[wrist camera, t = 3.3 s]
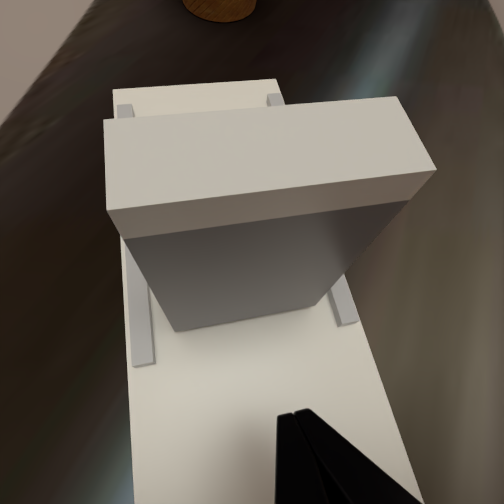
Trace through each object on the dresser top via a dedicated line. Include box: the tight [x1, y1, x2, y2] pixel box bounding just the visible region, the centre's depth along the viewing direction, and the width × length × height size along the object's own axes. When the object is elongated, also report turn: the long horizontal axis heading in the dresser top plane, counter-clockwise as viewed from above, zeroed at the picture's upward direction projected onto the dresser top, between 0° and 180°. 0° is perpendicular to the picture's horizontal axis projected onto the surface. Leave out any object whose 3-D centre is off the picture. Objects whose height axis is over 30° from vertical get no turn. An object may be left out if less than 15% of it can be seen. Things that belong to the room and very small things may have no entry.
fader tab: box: [104, 96, 437, 332], centre depth 10 cm, size 2×6×9 cm, turn 102°
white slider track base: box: [113, 79, 424, 504], centre depth 16 cm, size 24×10×3 cm, turn 12°
